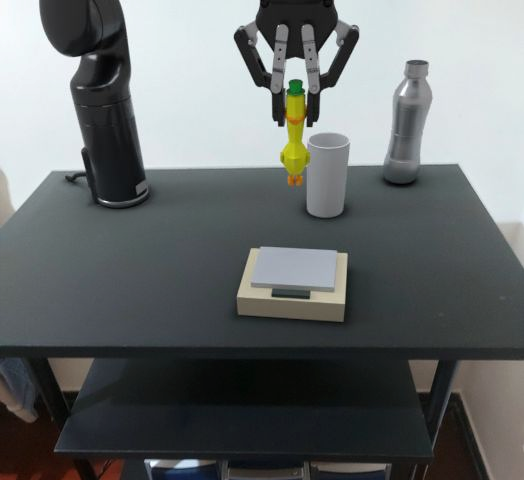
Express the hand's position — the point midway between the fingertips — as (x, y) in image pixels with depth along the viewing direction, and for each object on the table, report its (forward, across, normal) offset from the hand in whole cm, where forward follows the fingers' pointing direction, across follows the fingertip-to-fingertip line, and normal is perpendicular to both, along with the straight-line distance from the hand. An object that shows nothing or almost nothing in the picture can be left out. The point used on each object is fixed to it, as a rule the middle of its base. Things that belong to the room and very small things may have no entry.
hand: (295, 124), depth 63 cm
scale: (+22, 0, +3) cm, 22 cm away
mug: (+22, -4, -23) cm, 33 cm away
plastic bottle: (+22, -17, -34) cm, 44 cm away
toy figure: (+7, 0, 0) cm, 7 cm away
